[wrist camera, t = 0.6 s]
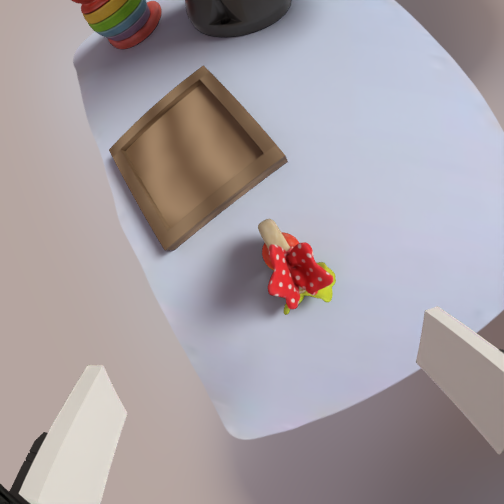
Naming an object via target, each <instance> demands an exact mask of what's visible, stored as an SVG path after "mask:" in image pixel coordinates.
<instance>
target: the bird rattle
mask: <svg viewBox="0 0 504 504" xmlns="http://www.w3.org/2000/svg"><path fill="white" fill-rule="evenodd" d="M258 229H259V232H260V234H261V236H262V238H263V240H264V242H265V243H264V245H263V248H262V256H263V259H264V261H265V263H266V265H267V266H268V267H269V268H270V269H272V270H274V272H273V274H272V276H271V278H270V281H269V284H268V292H269V294H270V295H272V296H279V297H283V298H285V299H286V304H285V305H284V306H285V308H284V314H285V315H287V314H288V313H289V311H290V309H296V308H297V306H298V304H299V303H300V302H301V301H302V300H303V298H304V296H311V297H315V298H320V299H322V300H324V301H325V302H330V301H331V299H332V286H333V285H334V284H335V282H336V279H335V274H334V272H333V271H332V270H331V269H329V268H328V267H327V266H326V265H325V263H323V262H319V263H316V262H315V260H314V257H313V251H312V248H311V246H310V245H309V244H308V243H299V242H298V240H297V239H296V238H295V237H294V236H292V235H290V234H288V233H281V231H280V230H279V228H278V226H277V225H276V223H275V222H274V221H273V220H271V219H266V220H264V221H263V222H261V223H260V224H259V225H258Z"/></svg>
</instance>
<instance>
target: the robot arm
mask: <svg viewBox="0 0 504 504" xmlns="http://www.w3.org/2000/svg"><path fill="white" fill-rule="evenodd" d="M185 4H186V10H187V15H188V17H189V19H190V21H191V22H192V24H193V25H194V26H195V28H196V29H197V30H199V31H200V32H202V33H204V34H207V35H210V36H216V37H232V36H239V35H244V34H249V33H252V32H255V31H258V30H261V29H263V28H265V27H267V26H269V25H271V24H273V23H275V22H276V21H278V20H279V19H280V18H281V17H282V16H283V15H284V14H285V13H286V12H287V11H288V9H289V7H290V5H291V0H185ZM416 363H417V364H418V365H419V366H420V367H421V368H422V369H423V370H424V371H425V372H426V374H428V376H429V377H430V378H431V379H432V380H433V381H434V382H435V383H436V384H437V385H438V386H439V387H440V389H441V390H442V391H443V392H444V393H445V394H446V395H447V396H448V397H449V398H450V399H451V401H452V402H453V403H454V404H455V405H456V406H457V407H458V408H459V409H460V411H461V412H462V413H463V414H464V415H465V416H466V417H467V418H468V419H469V420H470V422H471V423H472V424H473V425H474V426H475V427H476V429H477V430H478V431H479V432H480V433H481V434H482V436H483V437H484V438H485V439H486V440H487V441H488V443H490V445H491V446H492V447H493V448H494V450H495V451H496V452H497V453H498V454H499V455H500V454H501V453H502V452H503V451H504V350H501V349H497V348H496V347H494V346H493V345H492V344H490V343H489V342H487V341H486V340H485V339H483V338H482V337H481V336H479V335H478V334H477V333H475V332H474V331H472V330H471V329H470V328H468V327H467V326H465V325H464V324H463V323H461V322H460V321H458V320H457V319H455V318H454V317H453V316H451V315H450V314H448V313H447V312H445V311H444V310H442V309H441V308H439V307H438V306H437V307H434V308H431V309H428V310H425V314H424V321H423V327H422V333H421V339H420V344H419V350H418V355H417V359H416ZM126 416H127V412H126V410H125V408H124V407H123V405H122V403H121V401H120V399H119V397H118V395H117V393H116V391H115V389H114V387H113V385H112V383H111V381H110V379H109V377H108V375H107V372H106V370H105V368H104V366H103V365H87V367H86V369H85V371H84V372H83V373H82V375H81V377H80V378H79V380H78V382H77V383H76V385H75V387H74V388H73V390H72V392H71V393H70V395H69V397H68V398H67V400H66V402H65V404H64V405H63V407H62V409H61V410H60V412H59V414H58V416H57V417H56V419H55V421H54V423H53V425H52V427H51V428H50V430H49V432H48V433H45V432H44V433H43V434H42V435H41V436H40V437H38V439H36V440H35V442H34V444H33V445H32V447H31V449H30V453H28V455H27V457H26V461H24V463H23V465H22V467H21V469H20V471H19V473H18V475H17V477H16V479H15V481H14V483H13V485H12V488H11V489H10V491H7V490H6V489H5V488H4V487H3V486H2V485H1V484H0V504H100V503H101V499H102V496H103V492H104V488H105V484H106V481H107V477H108V473H109V470H110V467H111V464H112V460H113V457H114V454H115V450H116V447H117V444H118V441H119V438H120V434H121V431H122V428H123V425H124V422H125V419H126Z"/></svg>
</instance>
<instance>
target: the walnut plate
mask: <svg viewBox="0 0 504 504" xmlns="http://www.w3.org/2000/svg"><path fill="white" fill-rule="evenodd" d="M109 151H110V153H111V155H112V157H113V159H114V161H115V163H116V165H117V167H118V168H119V170H120V172H121V174H122V176H123V178H124V180H125V182H126V184H127V185H128V187H129V189H130V191H131V193H132V195H133V196H134V198H135V200H136V202H137V204H138V205H139V207H140V209H141V211H142V213H143V214H144V216H145V218H146V220H147V221H148V223H149V225H150V226H151V228H152V230H153V232H154V233H155V235H156V237H157V238H158V240H159V242H160V243H161V245H162V247H163V248H164V250H175V249H176V248H178V247H179V246H180V245H181V244H182V243H184V242H185V241H186V240H187V239H188V238H190V237H191V236H192V235H193V234H195V233H196V232H197V231H198V230H200V229H201V228H202V227H203V226H204V225H206V224H207V223H208V222H209V221H211V220H212V219H213V218H215V217H216V216H217V215H218V214H220V213H221V212H222V211H223V210H225V209H226V208H227V207H228V206H230V205H231V204H232V203H234V202H235V201H236V200H237V199H239V198H240V197H241V196H243V195H244V194H245V193H247V192H248V191H249V190H250V189H252V188H253V187H254V186H256V185H257V184H258V183H260V182H261V181H262V180H264V179H265V178H266V177H268V176H269V175H270V174H272V173H273V172H274V171H276V170H277V169H279V168H280V167H281V166H283V165H284V164H285V163H287V162H288V161H287V159H286V156H285V155H284V153H283V152H282V151H281V150H280V149H279V147H278V146H277V145H276V144H275V143H274V141H273V140H272V139H271V138H270V137H269V136H268V134H267V133H266V132H265V131H264V130H263V129H262V127H261V126H260V125H259V124H258V123H257V122H256V121H255V120H254V118H253V117H252V116H251V115H250V114H249V113H248V112H247V111H246V109H245V108H244V107H243V106H242V105H241V104H240V103H239V102H238V101H237V100H236V99H235V97H234V96H233V95H232V94H231V93H230V92H229V91H228V90H227V89H226V88H225V87H224V86H223V85H222V84H221V83H220V82H219V81H218V80H217V79H216V78H215V77H214V76H213V75H212V74H211V73H210V72H209V71H208V70H207V69H206V68H205V67H204V66H202V67H201V68H200V69H198V70H197V71H196V72H194V73H193V74H192V75H190V76H189V77H188V78H186V79H185V80H184V81H183V82H181V83H180V84H179V85H178V86H176V87H175V88H174V89H173V90H172V91H170V92H169V93H168V94H167V95H166V96H164V97H163V98H162V99H161V100H160V101H159V102H158V103H156V104H155V105H154V106H153V107H152V108H151V109H150V110H149V111H148V112H146V113H145V114H144V115H143V116H142V117H141V118H140V119H139V120H138V121H137V122H136V123H135V124H134V125H133V126H132V127H131V128H130V129H129V130H128V131H127V132H126V133H125V134H124V135H123V136H122V137H121V138H120V139H119V140H118V141H117V142H116V143H115V144H114V145H113V146H112V147H111V148H110V149H109Z"/></svg>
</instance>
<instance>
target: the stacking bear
mask: <svg viewBox="0 0 504 504" xmlns="http://www.w3.org/2000/svg"><path fill="white" fill-rule="evenodd" d="M72 1H74V2H76V3H81V4H82V6H81V11H82V13H83V16H84V17H85V19H86V21H87V22H88V24H89V25H90V27H91V28H92V29H93V30H94V31H96V32H97V33H98V34H100V35H102V36H104V37H106V38H108V40H109V42H110V43H111V44H112V45H113V46H114V47H116V48H118V49H126V48H130V47H132V46H135V45H137V44H138V43H140V42H141V41H143V40H144V39H145V38H146V37H148V36H149V35H150V34H151V33H152V31H153V30H154V29H155V27H156V26H157V24H158V22H159V20H160V17H161V7H160V5H159V4H158V3H157V2H156V1H150V2H146V0H72Z"/></svg>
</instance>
